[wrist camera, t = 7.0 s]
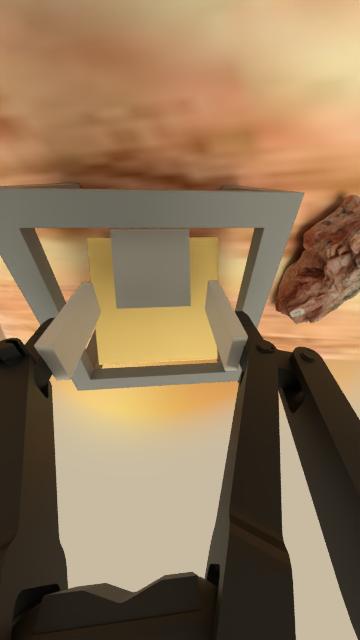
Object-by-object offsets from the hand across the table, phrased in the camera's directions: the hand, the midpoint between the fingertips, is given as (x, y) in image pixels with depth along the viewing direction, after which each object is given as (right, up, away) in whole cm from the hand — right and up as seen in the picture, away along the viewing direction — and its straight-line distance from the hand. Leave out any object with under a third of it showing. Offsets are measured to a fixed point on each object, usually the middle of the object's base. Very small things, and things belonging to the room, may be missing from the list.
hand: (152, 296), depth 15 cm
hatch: (0, 0, +6) cm, 7 cm away
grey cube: (0, +3, +6) cm, 6 cm away
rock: (+23, +8, +13) cm, 27 cm away
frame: (-1, +5, +12) cm, 13 cm away
